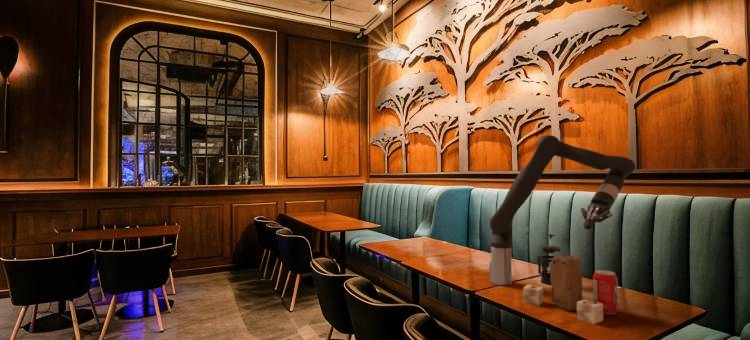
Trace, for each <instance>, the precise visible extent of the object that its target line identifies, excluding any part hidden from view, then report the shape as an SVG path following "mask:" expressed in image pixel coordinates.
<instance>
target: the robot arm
mask: <svg viewBox="0 0 750 340" xmlns="http://www.w3.org/2000/svg"><path fill="white" fill-rule="evenodd" d="M535 147H536V148H535V151H534V153H533V154H532V156H531V157H530V160H529V161H528V162H527V163H526V165H525V166H523V168H522V169H521V170H520V172H519V173H518V174H517V176H516V178H515V179H514V180H513V182H512V184H511V186H510V187H509V190H508V191H507V194H506V196H505V197H504V200H503V202H502V203H501V205H500V206H499V208H498V209H497V210H496V212H495V213H494V214H493V215H492V216H491V218H490V220H489V227H490V229H491V238H490V261H489V263H488V264H489V282H490V283H492V284H494V285H497V286H510V285H512V283H513V281H512V280H513V278H512V277H513V276H512V275H513V273H512V272H513V271H512V270H513V269H512V239H513V237H512V236H513V233H512V232H513V227H512V226H513V225H512V224H513V223H512V222H513V219H514V217H515V216H516V214H517V212H518V210H519V209H520V208H521V207H522V206H523V205H524V204H525V203H526V201H527V199H529V198H530V197H531V195H532V193H533V191H534V190H535V188H536V186H537V185H538V183H539V181H540V179H541V177H542V175H543V173H544V171H545V169H546V168H547V166H548V165H549V164H550V162H551V161H552V159H554V157H558V158H559V157H560V158H562V159H567V160H569V161H572V162H575V163H578V164H580V165H583V166H586V167H587V168H588V167H589V168H592V169H595V170H597V171H605V170H608V169H609V170H608V172H607V174H606V178H605V179H604V180H603V182H602V183H601V185H600V186H599V187H598V189H597V191H596V192H595V193H594V195H593V197H592V199H591V200H590V204H589V205H587V207H586V208H584V207H581V208H580V212H581V215H582V218H583V219H584V220H585V221H584V223H583V225H582V226H583V228H584V230H587V231H588V230H591V229H592V227H593V226H594V225H595V224H596V223H598V224H599V223H602V222H604V221H606V220H607V219H610V218H611V217H613V213H612V212H611V211H610V210H611V208H612V207H613V205H614V203H615V202H616V200H617V198H618V196H619V193H620V192H621V190H622V189H623V186H624V184H625V180H626V179H627V177H629V175H631V174H632V173H633V172H634V171H635V169H636V163H635V162H634V161H633V160H632V159H630V158H628V157H625V156H619V155H608V154H607V155H606V154H603V153H600V152H597V151H593V150H590V149H586V148H583V147H579V146H578V147H577V146H574V145H571V144H567V143H565V142H563V141H561V140H560V139H559V138H558V137H556V136H554V135H550V134H546V135H543V136H541V137H540V138H538V140H537V141H536V145H535Z"/></svg>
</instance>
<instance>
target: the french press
mask: <svg viewBox="0 0 750 340" xmlns="http://www.w3.org/2000/svg"><path fill="white" fill-rule="evenodd" d="M545 236H546V237H549V241H550V242H549V243H550V245H541V246H540V248H541V252H542V253H544V254H555V252H558V253H561V250H562V247H560V246H557V245H556V246H555V245H552V239H553V237H556V235H555V234H553V233H552V234H550V233H549V234H545ZM555 256H556V255H538V256H537V263H538V265H537V268H538V269H537V271H538V273H537V274H538V275H540V283H541V284H544V285H547V286H552V285H551V278H550V266H548V263H551V261H552V259H553V258H554V257H555Z"/></svg>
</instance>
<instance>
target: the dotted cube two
mask: <svg viewBox="0 0 750 340" xmlns="http://www.w3.org/2000/svg"><path fill="white" fill-rule="evenodd" d="M576 319H577V320H580V321H582V322H583V321H584V322H586V323H589V324H592V325H595V324H598V323H600V322H602V321H604V314H603V304H602V303H598V302H595V301H593V300H590V299H587V298H584V299H582V300H581V301H578V302H577V310H576Z"/></svg>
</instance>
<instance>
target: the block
mask: <svg viewBox="0 0 750 340" xmlns="http://www.w3.org/2000/svg"><path fill="white" fill-rule="evenodd" d="M554 256H555V257H554V258H553V259H552V258H551V260H552V261H551V262H550V265H549V267H550V272H549V273H550V278H551V285H550V286H551V289H550V290H551V291H550V294H551V302H552V304H554V305H555V306H556V307H558V308H560V309H561V310H565V311H568V312H570V311H572V312H575V311H576V312H577V302H578V301H581V300H583V274H582V263H581V259H580V258H579V257H576V256H573V255H571V254H565V253H564V254H558V255H554Z"/></svg>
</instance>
